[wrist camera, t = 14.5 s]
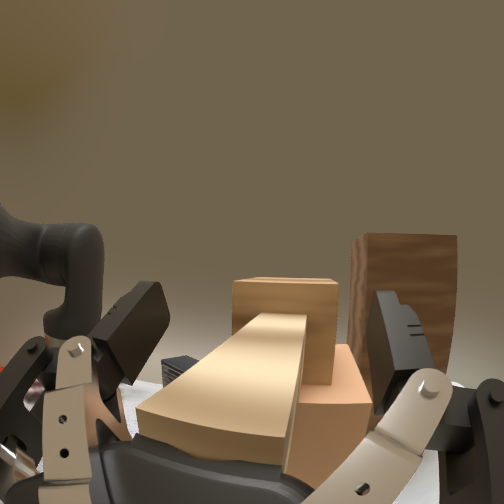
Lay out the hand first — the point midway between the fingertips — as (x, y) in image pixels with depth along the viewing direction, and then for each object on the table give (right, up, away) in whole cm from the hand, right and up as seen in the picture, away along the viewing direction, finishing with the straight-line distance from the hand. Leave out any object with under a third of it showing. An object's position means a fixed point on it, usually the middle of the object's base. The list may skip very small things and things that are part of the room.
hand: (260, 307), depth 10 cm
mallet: (+1, -7, +5) cm, 9 cm away
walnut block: (+19, -28, +23) cm, 41 cm away
